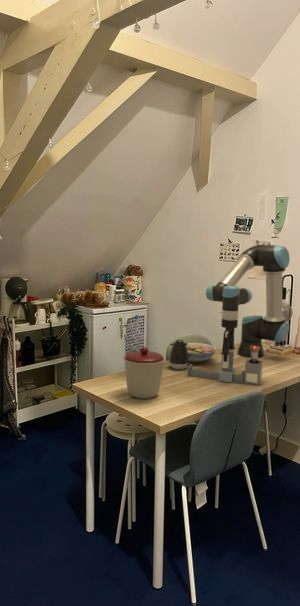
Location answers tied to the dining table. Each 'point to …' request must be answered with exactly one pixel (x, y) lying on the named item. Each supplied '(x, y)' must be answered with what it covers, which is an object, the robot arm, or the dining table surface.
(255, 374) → the grey square housing
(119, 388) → the dining table surface
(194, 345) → the ramen bowl
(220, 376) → the carriage
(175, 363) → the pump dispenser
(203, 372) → the rail
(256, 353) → the plunger
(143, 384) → the canister
